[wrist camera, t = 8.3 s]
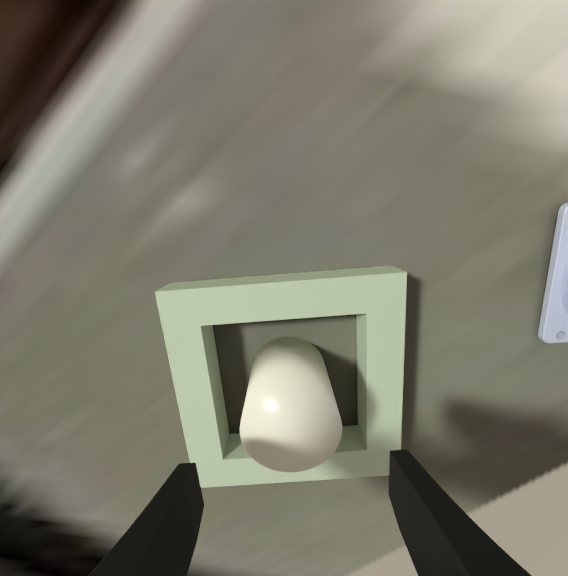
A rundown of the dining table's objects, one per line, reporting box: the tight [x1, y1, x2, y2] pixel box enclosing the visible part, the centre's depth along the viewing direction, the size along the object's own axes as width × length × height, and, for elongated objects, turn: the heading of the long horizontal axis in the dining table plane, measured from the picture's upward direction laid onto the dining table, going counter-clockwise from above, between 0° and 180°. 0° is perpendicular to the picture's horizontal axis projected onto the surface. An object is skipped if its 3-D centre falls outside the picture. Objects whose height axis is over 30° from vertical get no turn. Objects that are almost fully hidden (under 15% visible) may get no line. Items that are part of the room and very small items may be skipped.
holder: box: [155, 266, 407, 488], centre depth 16 cm, size 13×13×2 cm
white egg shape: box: [240, 337, 342, 472], centre depth 14 cm, size 5×5×5 cm
